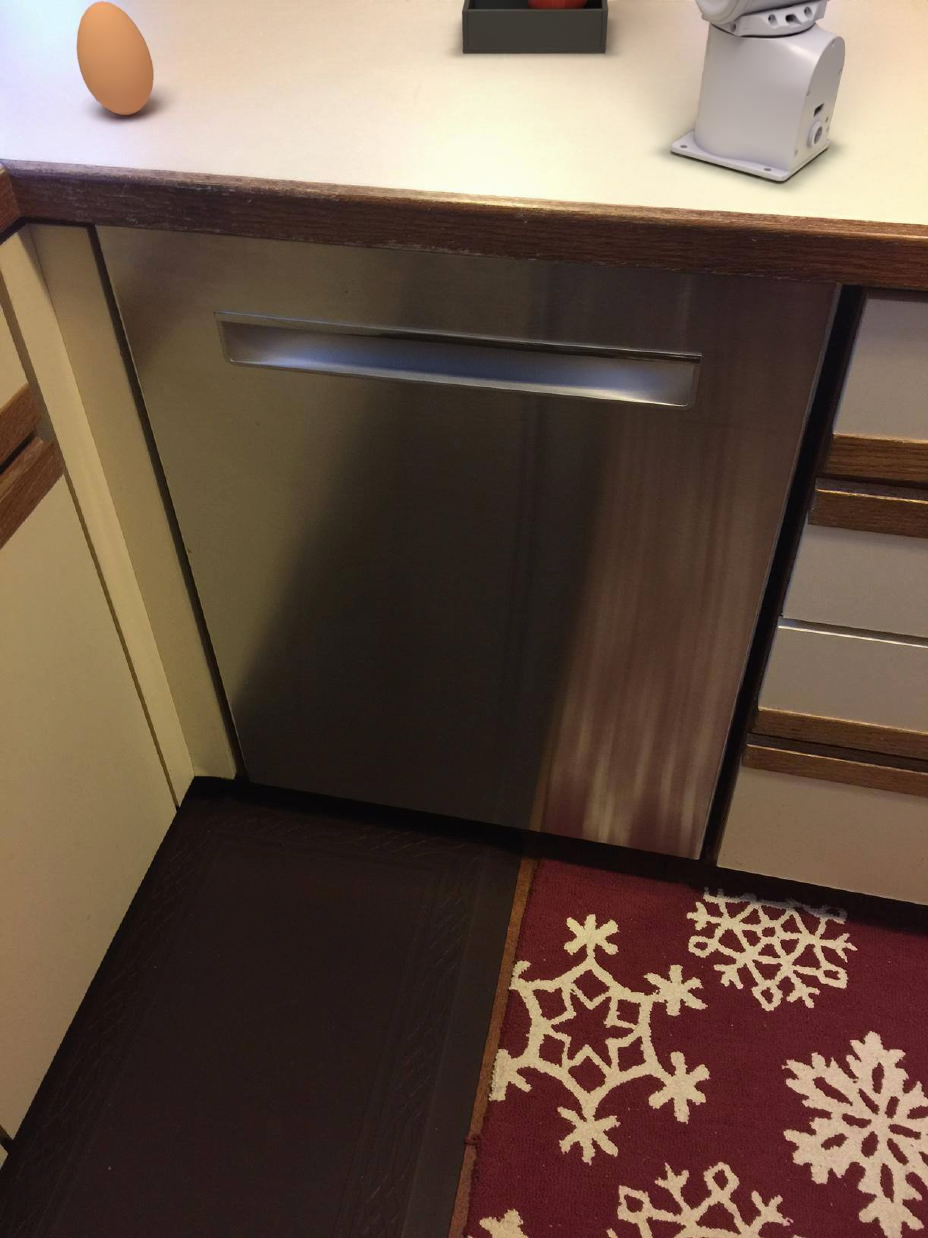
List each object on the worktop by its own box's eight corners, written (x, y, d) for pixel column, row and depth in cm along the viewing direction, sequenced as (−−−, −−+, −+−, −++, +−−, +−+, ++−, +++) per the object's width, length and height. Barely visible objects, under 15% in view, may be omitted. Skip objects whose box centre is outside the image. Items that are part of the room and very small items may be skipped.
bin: (603, 21, 99) (606, -20, 97) (605, 52, 93) (608, 10, 91) (469, 22, 100) (468, -19, 98) (462, 53, 94) (461, 10, 92)
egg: (83, 110, 87) (52, 0, 81) (147, 94, 89) (122, -15, 83) (107, 132, 84) (76, 18, 78) (173, 115, 86) (148, 3, 80)
